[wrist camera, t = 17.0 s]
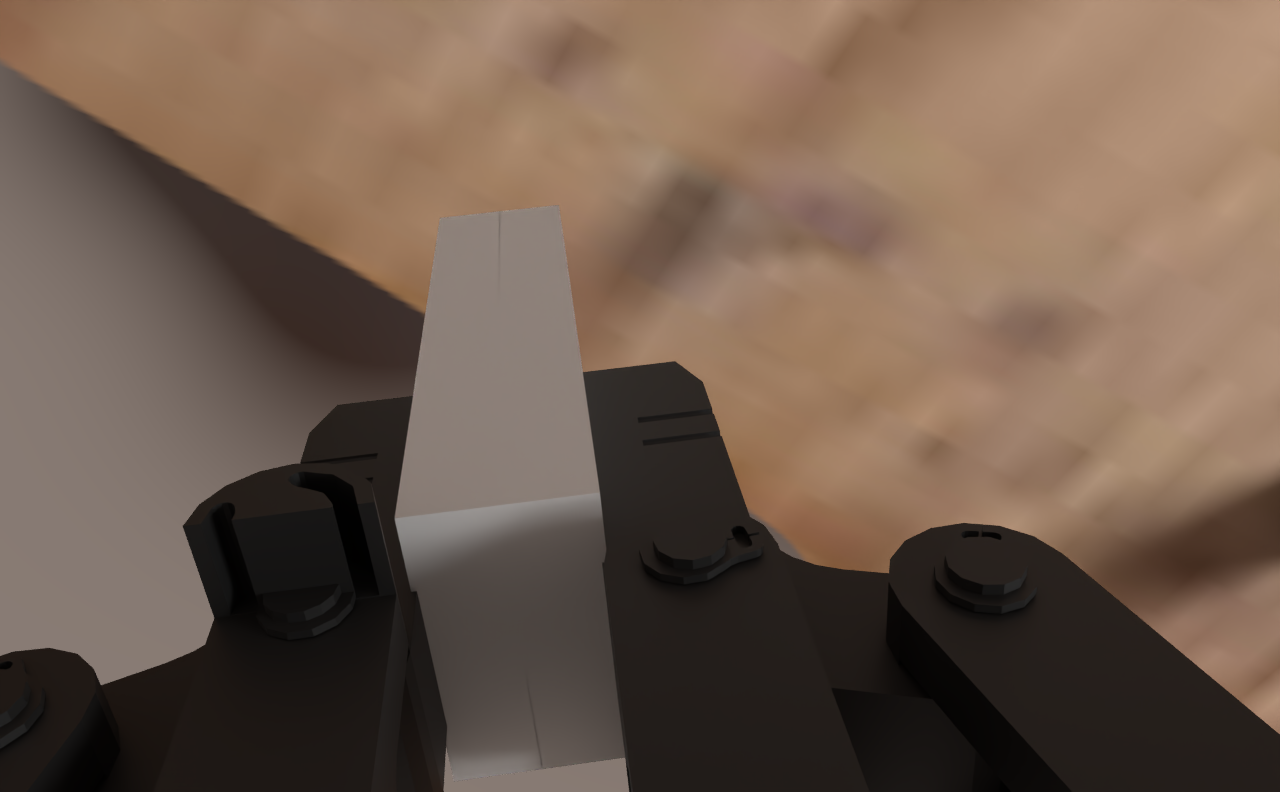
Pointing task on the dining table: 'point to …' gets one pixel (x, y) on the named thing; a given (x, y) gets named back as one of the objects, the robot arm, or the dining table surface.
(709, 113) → the dining table surface
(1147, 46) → the dining table surface
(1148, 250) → the dining table surface
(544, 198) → the dining table surface
